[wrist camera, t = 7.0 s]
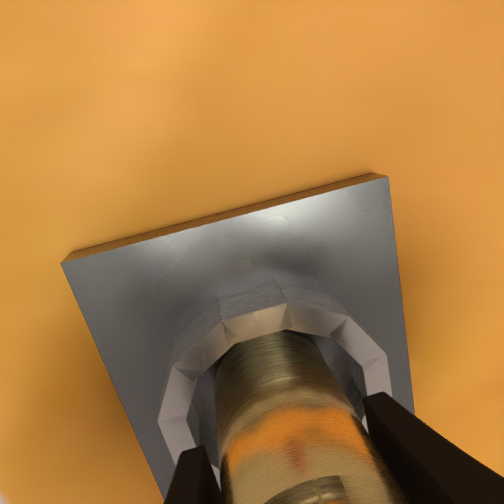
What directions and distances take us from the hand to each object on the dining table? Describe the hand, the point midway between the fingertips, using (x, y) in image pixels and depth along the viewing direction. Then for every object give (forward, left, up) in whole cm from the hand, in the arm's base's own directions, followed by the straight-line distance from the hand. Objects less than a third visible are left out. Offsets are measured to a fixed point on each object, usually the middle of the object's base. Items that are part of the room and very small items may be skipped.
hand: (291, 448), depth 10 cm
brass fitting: (0, 0, -3) cm, 3 cm away
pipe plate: (-2, -2, -4) cm, 5 cm away
